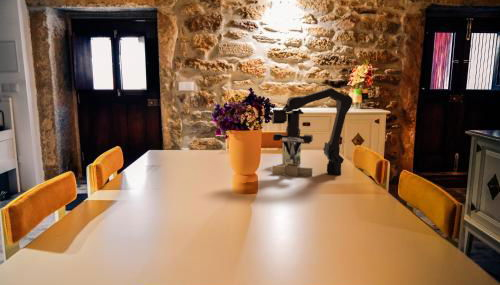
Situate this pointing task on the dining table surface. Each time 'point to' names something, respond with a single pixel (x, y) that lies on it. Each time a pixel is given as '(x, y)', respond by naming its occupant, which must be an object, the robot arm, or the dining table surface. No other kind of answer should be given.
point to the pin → (292, 151)
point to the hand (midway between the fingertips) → (292, 154)
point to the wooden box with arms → (292, 170)
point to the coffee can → (286, 156)
